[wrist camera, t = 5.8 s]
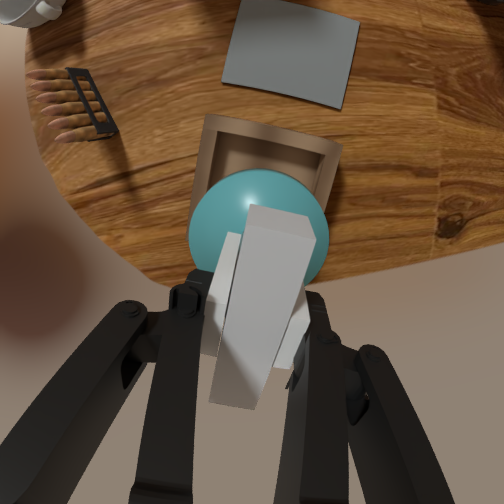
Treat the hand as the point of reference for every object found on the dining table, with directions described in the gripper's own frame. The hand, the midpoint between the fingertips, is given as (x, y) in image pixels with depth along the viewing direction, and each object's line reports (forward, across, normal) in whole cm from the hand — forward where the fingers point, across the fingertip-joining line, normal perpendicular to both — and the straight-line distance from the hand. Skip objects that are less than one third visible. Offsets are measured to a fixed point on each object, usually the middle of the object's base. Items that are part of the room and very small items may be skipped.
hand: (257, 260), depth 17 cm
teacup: (+21, -35, +23) cm, 47 cm away
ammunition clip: (+21, -23, +7) cm, 32 cm away
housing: (+21, 0, 0) cm, 21 cm away
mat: (+21, 0, +17) cm, 27 cm away
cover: (+4, 0, 0) cm, 4 cm away
